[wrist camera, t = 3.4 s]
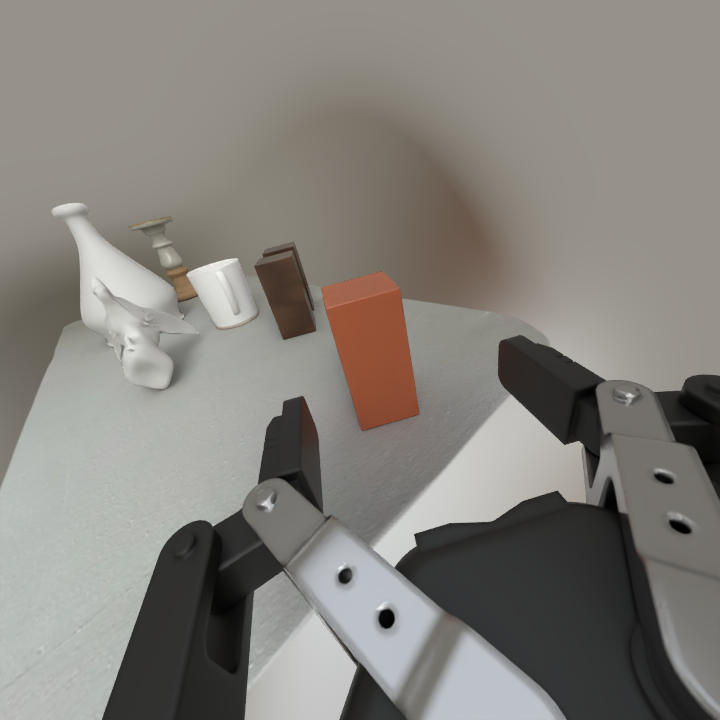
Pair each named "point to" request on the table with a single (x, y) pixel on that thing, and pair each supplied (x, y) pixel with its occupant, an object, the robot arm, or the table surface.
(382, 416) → the terracotta block
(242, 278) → the mug
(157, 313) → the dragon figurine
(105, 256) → the vase
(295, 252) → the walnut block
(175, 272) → the candle holder
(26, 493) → the table surface
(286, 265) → the walnut block mid
